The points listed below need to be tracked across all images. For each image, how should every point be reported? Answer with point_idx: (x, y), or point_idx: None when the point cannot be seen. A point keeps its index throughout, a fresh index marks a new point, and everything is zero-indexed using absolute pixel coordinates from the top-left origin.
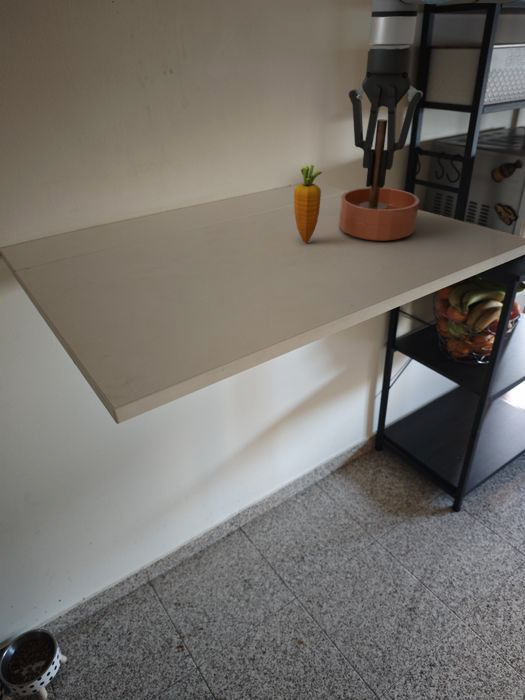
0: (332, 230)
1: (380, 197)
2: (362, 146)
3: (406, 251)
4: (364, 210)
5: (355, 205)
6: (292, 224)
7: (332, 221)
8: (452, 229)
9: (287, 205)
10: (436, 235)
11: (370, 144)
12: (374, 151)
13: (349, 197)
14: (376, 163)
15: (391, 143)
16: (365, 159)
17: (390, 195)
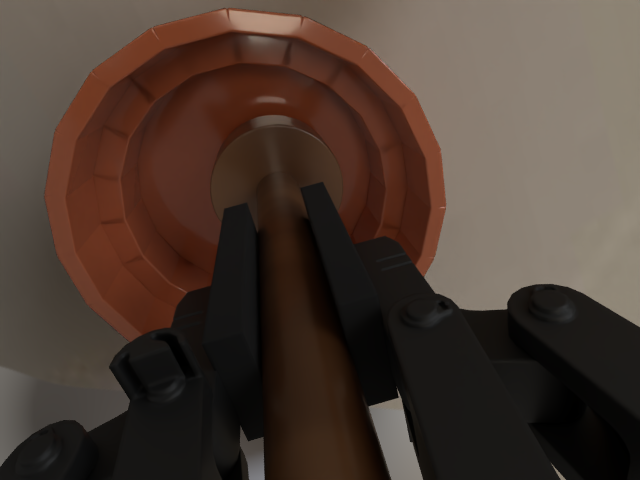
0: (401, 74)
1: None
2: (482, 325)
3: (22, 5)
4: (244, 9)
5: (316, 40)
6: (569, 49)
7: None
8: (33, 322)
9: (630, 227)
10: (40, 243)
11: (401, 351)
12: (344, 346)
13: (415, 226)
14: (292, 276)
15: (146, 446)
16: (394, 270)
17: None
